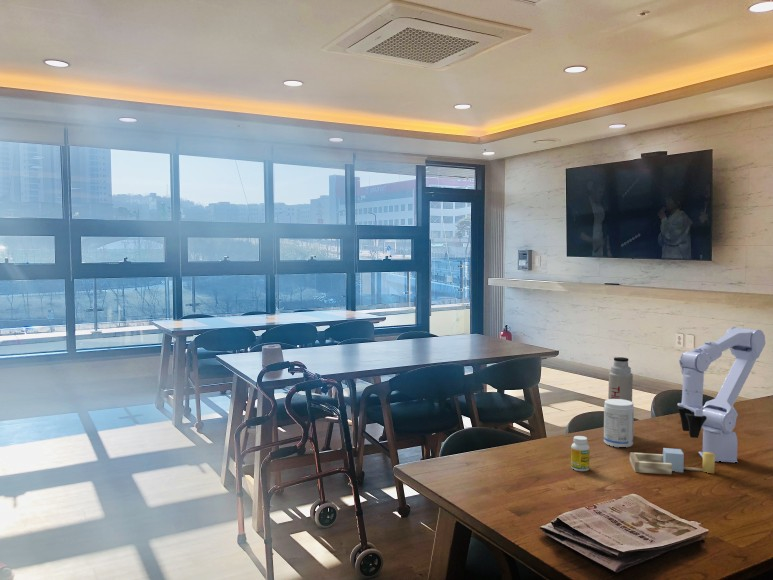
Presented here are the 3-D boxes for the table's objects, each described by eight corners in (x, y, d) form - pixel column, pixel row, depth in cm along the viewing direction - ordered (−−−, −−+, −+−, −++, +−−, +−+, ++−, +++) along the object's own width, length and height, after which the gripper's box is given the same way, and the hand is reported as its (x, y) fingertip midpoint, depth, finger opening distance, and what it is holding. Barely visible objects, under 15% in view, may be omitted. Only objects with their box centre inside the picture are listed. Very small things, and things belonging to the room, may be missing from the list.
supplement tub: (613, 438, 222) (614, 397, 221) (638, 444, 214) (639, 402, 213) (597, 443, 216) (598, 401, 215) (623, 450, 208) (624, 406, 207)
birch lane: (664, 463, 195) (664, 454, 195) (671, 474, 186) (671, 464, 185) (629, 461, 197) (629, 452, 197) (635, 471, 188) (635, 462, 188)
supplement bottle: (578, 464, 194) (579, 434, 194) (593, 469, 190) (593, 438, 189) (567, 467, 191) (567, 436, 191) (581, 472, 187) (581, 441, 186)
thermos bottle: (619, 439, 220) (621, 360, 218) (602, 433, 227) (604, 356, 225) (636, 436, 223) (638, 358, 222) (619, 431, 231) (620, 355, 229)
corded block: (712, 469, 190) (712, 451, 189) (716, 475, 185) (716, 456, 185) (662, 465, 194) (663, 447, 193) (665, 470, 189) (665, 452, 188)
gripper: (672, 385, 202) (670, 427, 202) (685, 394, 187) (683, 439, 188) (695, 386, 200) (693, 428, 201) (711, 396, 186) (708, 441, 187)
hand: (690, 434), depth 194 cm, fingers open, 7 cm apart
